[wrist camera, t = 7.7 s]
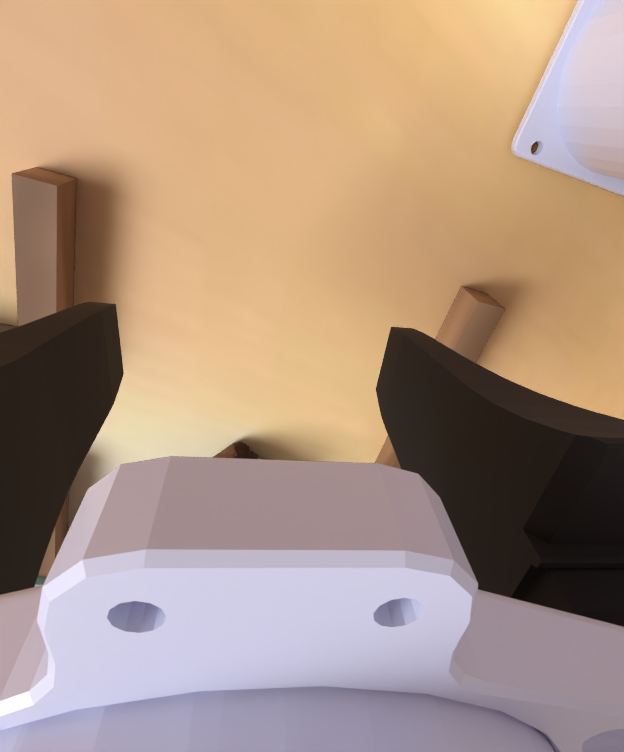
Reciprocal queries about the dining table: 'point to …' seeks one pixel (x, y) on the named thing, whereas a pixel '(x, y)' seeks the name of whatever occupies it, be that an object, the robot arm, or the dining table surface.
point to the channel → (56, 289)
